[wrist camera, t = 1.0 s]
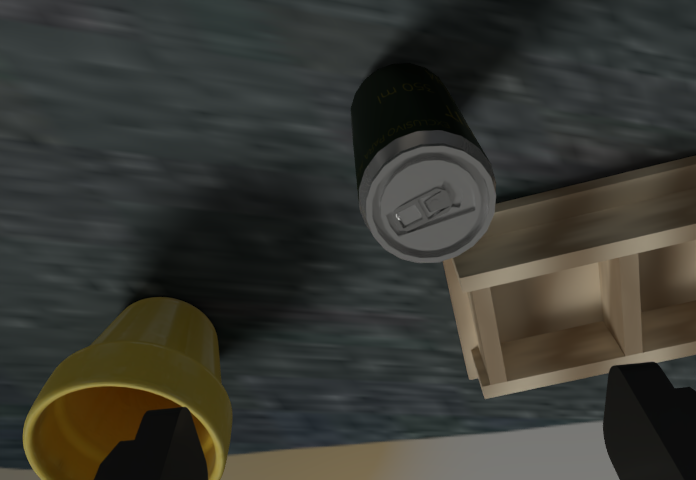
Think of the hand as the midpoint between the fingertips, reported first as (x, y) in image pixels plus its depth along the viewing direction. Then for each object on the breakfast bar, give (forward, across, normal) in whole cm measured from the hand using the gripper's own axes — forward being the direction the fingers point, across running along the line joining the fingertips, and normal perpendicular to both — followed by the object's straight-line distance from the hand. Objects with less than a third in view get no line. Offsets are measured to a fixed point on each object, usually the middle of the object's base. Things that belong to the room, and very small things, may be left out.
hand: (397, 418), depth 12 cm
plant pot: (+24, +14, +15) cm, 32 cm away
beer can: (+25, -2, +2) cm, 25 cm away
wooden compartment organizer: (+24, -18, +13) cm, 33 cm away
